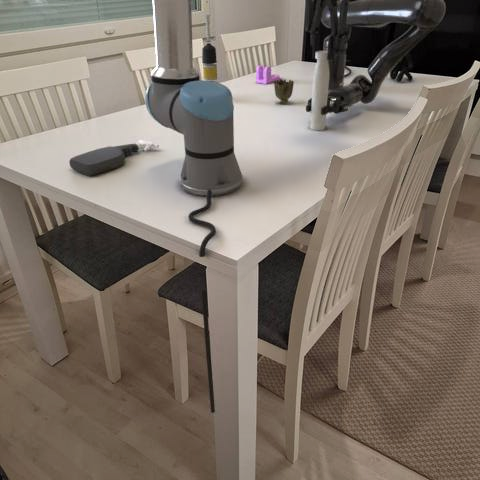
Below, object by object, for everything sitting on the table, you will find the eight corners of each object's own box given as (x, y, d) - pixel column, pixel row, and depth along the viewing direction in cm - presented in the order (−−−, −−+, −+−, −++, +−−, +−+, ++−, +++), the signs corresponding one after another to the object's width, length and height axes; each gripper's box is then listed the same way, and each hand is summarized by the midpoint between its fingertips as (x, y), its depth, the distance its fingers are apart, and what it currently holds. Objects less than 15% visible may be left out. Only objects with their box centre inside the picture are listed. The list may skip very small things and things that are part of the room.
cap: (329, 60, 132) (330, 53, 131) (314, 59, 133) (314, 53, 132) (331, 57, 136) (331, 50, 135) (316, 56, 137) (316, 50, 136)
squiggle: (400, 92, 202) (376, 71, 205) (417, 76, 202) (392, 56, 205) (405, 81, 191) (380, 59, 194) (423, 64, 191) (397, 42, 194)
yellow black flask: (220, 99, 177) (217, 15, 161) (206, 100, 176) (202, 16, 160) (215, 96, 182) (212, 14, 166) (202, 97, 180) (197, 14, 164)
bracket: (266, 84, 198) (266, 67, 194) (256, 82, 201) (256, 66, 197) (281, 78, 207) (282, 62, 203) (271, 77, 210) (272, 61, 206)
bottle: (308, 125, 148) (313, 52, 136) (323, 125, 148) (329, 52, 136) (311, 130, 143) (316, 55, 131) (326, 130, 144) (332, 55, 132)
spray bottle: (67, 168, 120) (139, 144, 136) (91, 178, 114) (163, 151, 130) (65, 157, 118) (137, 134, 134) (89, 167, 112) (162, 142, 128)
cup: (270, 104, 170) (270, 82, 166) (278, 99, 176) (278, 78, 171) (288, 106, 167) (289, 84, 163) (295, 101, 173) (296, 80, 168)
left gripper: (294, -32, 124) (291, 57, 136) (353, -33, 115) (343, 63, 127) (308, -33, 129) (303, 53, 141) (365, -33, 120) (355, 59, 132)
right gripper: (323, 84, 153) (296, 94, 142) (361, 90, 145) (335, 101, 134) (321, 106, 157) (294, 118, 146) (359, 113, 149) (333, 126, 138)
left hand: (322, 58), depth 134 cm, fingers closed on cap, 4 cm apart
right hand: (314, 110), depth 140 cm, fingers closed on bottle, 5 cm apart
